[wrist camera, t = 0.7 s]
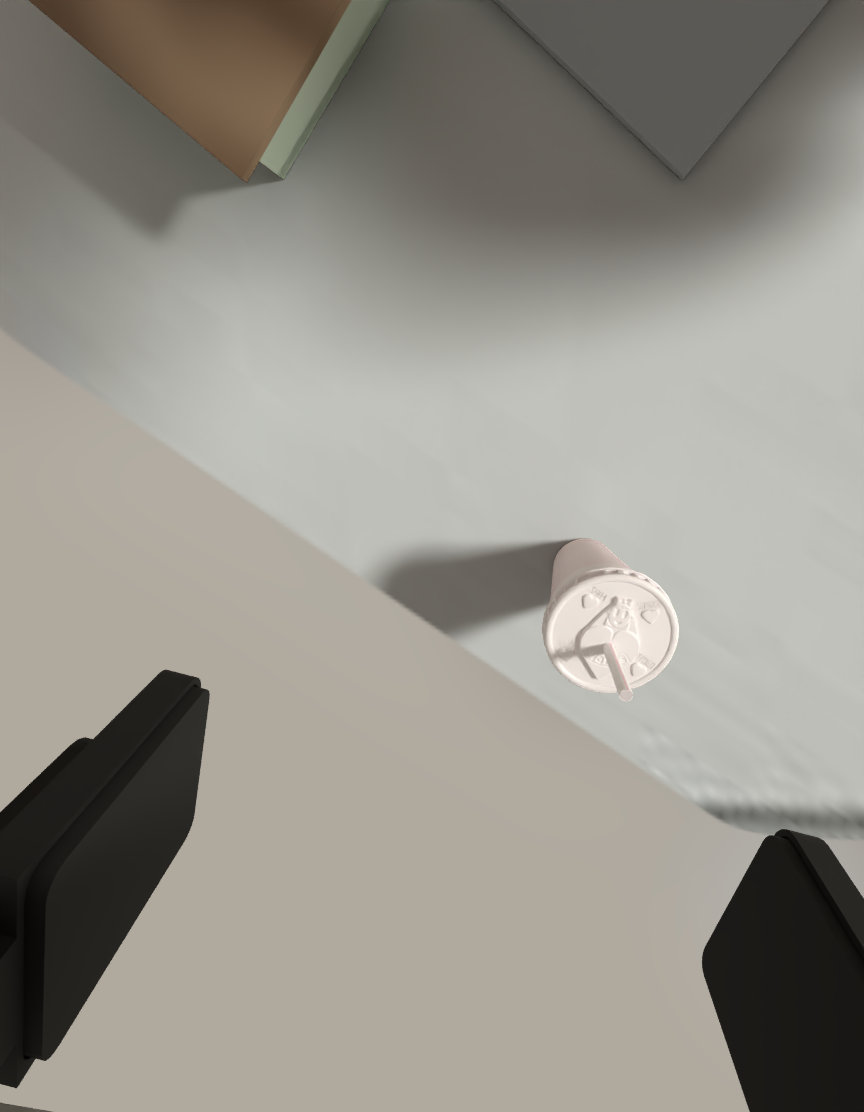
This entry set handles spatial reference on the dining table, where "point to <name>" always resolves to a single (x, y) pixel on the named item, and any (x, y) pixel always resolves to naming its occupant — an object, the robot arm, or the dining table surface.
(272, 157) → the dish
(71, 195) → the dining table surface
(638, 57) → the mat
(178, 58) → the lid
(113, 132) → the dining table surface
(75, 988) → the robot arm
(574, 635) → the smoothie
